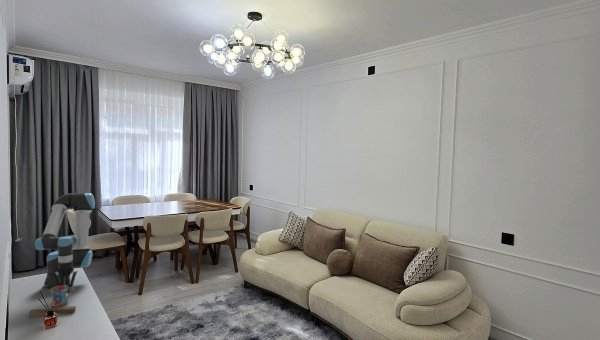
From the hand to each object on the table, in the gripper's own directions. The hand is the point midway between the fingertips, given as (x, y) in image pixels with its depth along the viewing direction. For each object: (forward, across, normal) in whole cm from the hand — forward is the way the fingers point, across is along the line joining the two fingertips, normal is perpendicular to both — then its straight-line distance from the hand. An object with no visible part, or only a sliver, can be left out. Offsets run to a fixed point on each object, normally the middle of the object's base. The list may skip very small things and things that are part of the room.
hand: (65, 297), depth 208 cm
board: (+2, 0, -18) cm, 18 cm away
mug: (+2, 0, -5) cm, 5 cm away
